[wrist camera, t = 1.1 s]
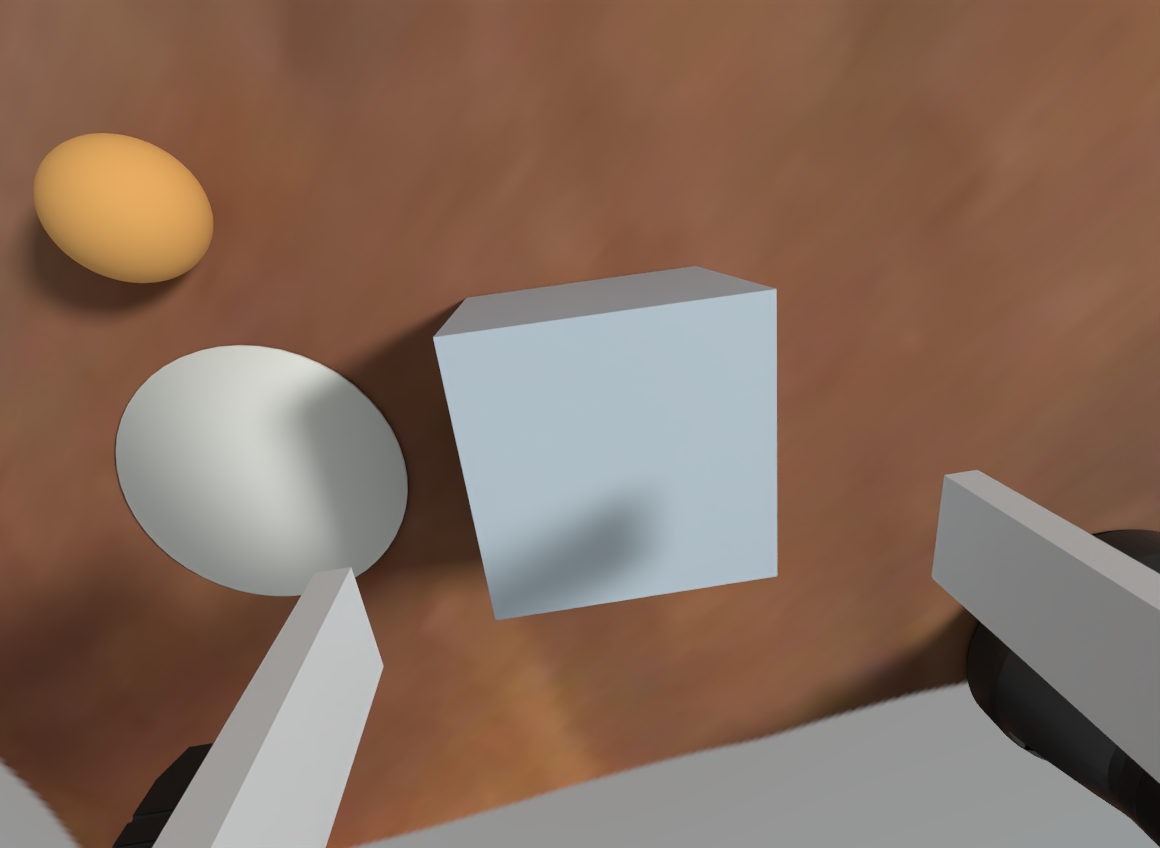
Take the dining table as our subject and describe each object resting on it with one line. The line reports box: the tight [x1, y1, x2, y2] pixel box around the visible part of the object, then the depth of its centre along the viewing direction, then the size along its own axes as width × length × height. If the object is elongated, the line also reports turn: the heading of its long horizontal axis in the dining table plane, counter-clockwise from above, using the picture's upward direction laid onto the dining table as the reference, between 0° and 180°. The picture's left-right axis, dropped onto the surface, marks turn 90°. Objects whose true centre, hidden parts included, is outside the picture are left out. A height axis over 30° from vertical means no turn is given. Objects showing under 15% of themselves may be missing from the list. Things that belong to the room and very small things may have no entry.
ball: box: [33, 133, 213, 283], centre depth 20 cm, size 5×5×5 cm
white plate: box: [116, 345, 408, 596], centre depth 27 cm, size 13×13×1 cm
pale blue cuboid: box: [433, 266, 777, 620], centre depth 22 cm, size 10×10×9 cm
